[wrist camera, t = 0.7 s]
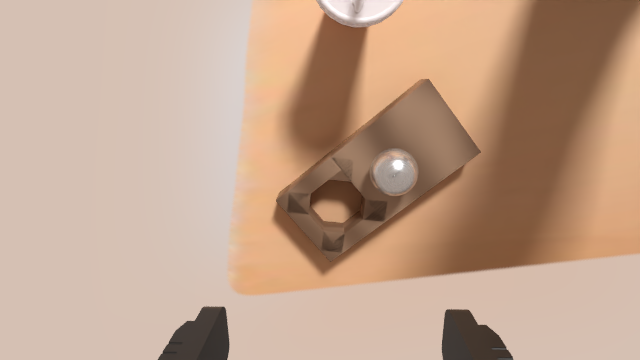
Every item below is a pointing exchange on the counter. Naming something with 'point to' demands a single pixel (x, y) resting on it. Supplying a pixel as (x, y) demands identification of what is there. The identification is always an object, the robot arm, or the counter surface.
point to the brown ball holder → (360, 150)
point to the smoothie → (359, 11)
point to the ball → (394, 172)
